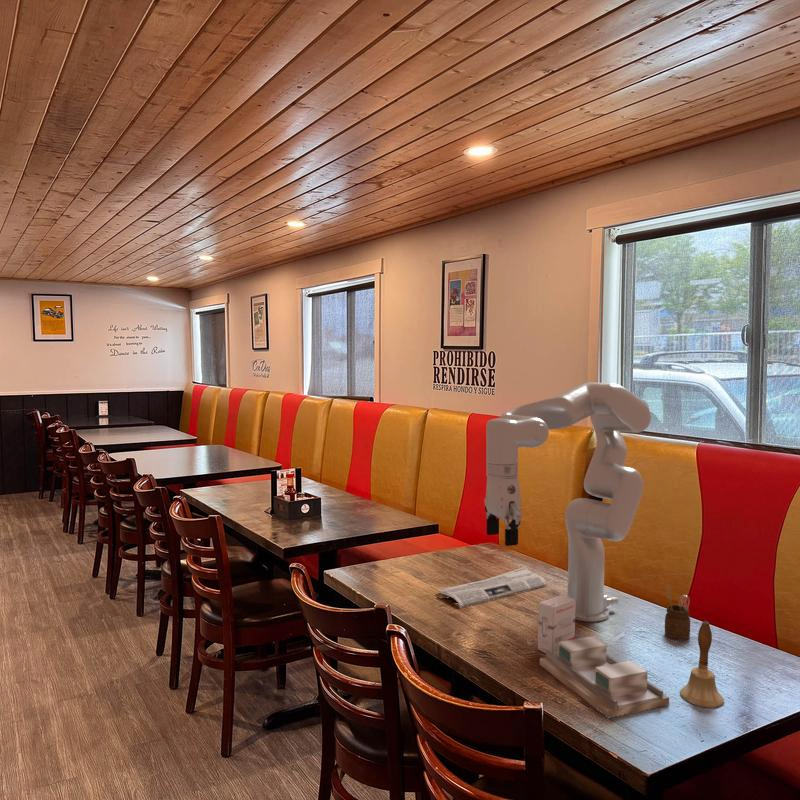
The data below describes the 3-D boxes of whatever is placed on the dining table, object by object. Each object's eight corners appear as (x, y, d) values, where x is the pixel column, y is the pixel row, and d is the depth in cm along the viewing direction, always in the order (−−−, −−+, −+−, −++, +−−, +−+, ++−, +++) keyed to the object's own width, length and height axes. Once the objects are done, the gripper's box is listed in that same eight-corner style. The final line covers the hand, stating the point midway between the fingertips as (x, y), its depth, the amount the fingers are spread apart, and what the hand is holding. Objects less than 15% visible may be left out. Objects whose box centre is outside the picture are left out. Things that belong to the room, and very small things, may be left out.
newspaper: (459, 610, 184) (460, 597, 183) (433, 596, 194) (433, 584, 194) (550, 587, 203) (550, 575, 202) (521, 575, 213) (522, 565, 213)
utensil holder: (680, 642, 162) (682, 594, 161) (658, 633, 167) (659, 587, 167) (695, 637, 165) (696, 590, 165) (672, 628, 171) (673, 583, 170)
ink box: (559, 640, 163) (560, 593, 162) (575, 647, 159) (576, 599, 158) (536, 649, 158) (537, 601, 157) (553, 657, 154) (553, 607, 153)
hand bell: (711, 687, 140) (713, 614, 139) (732, 707, 132) (735, 630, 131) (672, 687, 140) (675, 614, 139) (691, 708, 131) (694, 630, 130)
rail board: (594, 654, 155) (595, 629, 155) (669, 704, 133) (670, 675, 132) (539, 664, 150) (540, 638, 149) (607, 718, 127) (608, 688, 127)
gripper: (534, 475, 151) (533, 548, 153) (499, 463, 168) (499, 529, 169) (504, 477, 149) (504, 551, 150) (472, 465, 165) (472, 532, 167)
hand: (501, 539), depth 160 cm, fingers open, 9 cm apart
